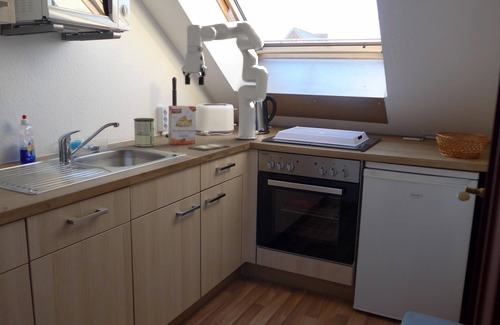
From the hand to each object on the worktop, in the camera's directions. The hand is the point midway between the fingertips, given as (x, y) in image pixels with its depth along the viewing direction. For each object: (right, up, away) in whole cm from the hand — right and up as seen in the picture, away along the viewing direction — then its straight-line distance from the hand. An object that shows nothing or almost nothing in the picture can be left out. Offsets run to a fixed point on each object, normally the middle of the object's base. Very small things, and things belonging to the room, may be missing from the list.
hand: (194, 84), depth 230 cm
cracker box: (-9, -30, +18) cm, 36 cm away
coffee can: (-28, -31, +10) cm, 43 cm away
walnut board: (+7, -32, +6) cm, 33 cm away
